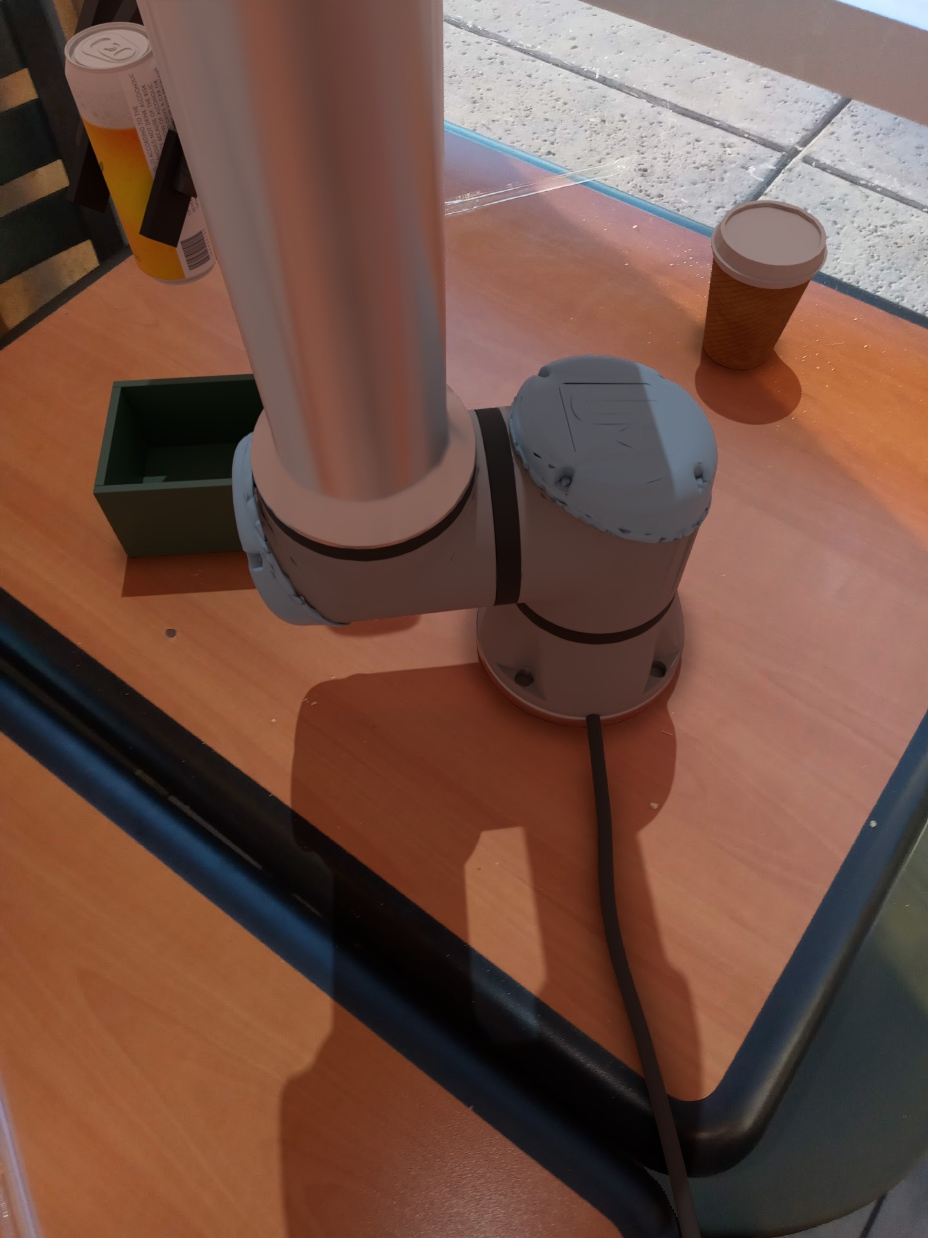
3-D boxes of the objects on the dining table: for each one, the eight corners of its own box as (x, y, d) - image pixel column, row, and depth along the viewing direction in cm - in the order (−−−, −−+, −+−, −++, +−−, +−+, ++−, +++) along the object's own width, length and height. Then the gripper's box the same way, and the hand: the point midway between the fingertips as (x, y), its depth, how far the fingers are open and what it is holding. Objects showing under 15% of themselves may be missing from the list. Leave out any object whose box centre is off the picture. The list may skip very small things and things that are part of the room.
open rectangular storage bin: (321, 546, 73) (306, 480, 66) (127, 557, 72) (92, 493, 65) (323, 439, 79) (309, 369, 72) (144, 450, 78) (113, 380, 71)
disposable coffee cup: (810, 354, 84) (857, 240, 74) (734, 397, 81) (772, 284, 71) (738, 298, 88) (774, 182, 78) (663, 336, 85) (690, 222, 75)
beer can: (183, 225, 68) (115, 8, 56) (240, 256, 66) (183, 38, 54) (122, 268, 66) (35, 50, 53) (179, 301, 64) (104, 83, 51)
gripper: (389, -99, 54) (264, 286, 61) (156, -166, 59) (67, 192, 66) (319, -183, 47) (188, 261, 54) (64, -250, 53) (-25, 159, 60)
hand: (121, 222), depth 60 cm, fingers closed on beer can, 6 cm apart
